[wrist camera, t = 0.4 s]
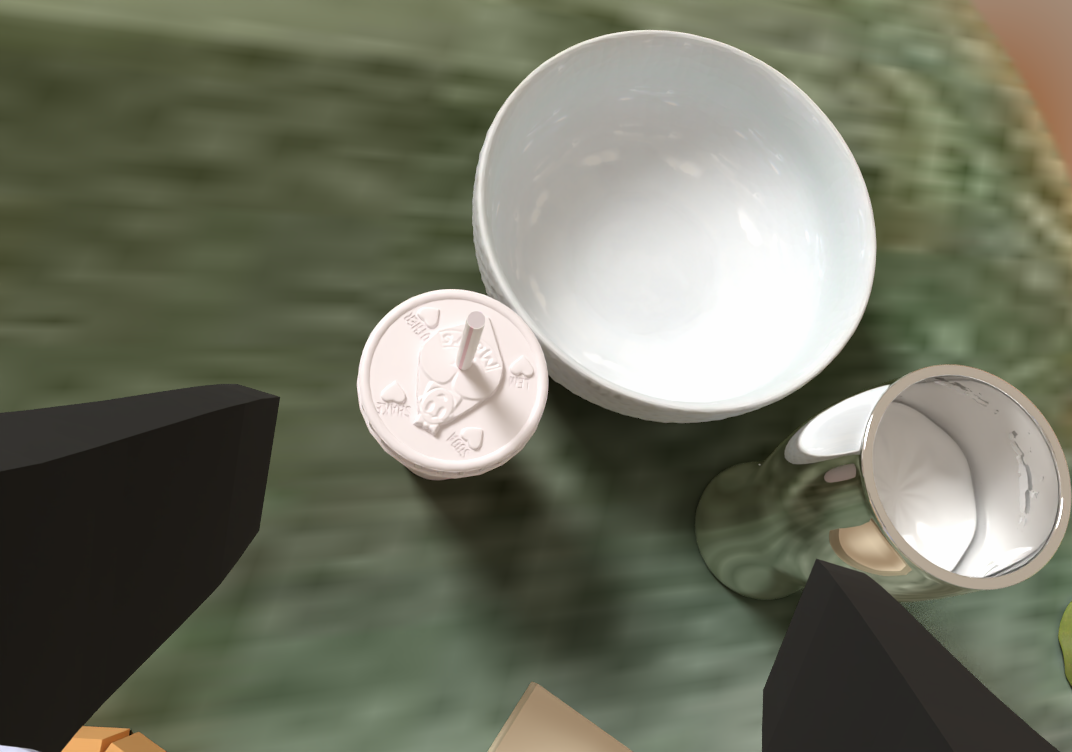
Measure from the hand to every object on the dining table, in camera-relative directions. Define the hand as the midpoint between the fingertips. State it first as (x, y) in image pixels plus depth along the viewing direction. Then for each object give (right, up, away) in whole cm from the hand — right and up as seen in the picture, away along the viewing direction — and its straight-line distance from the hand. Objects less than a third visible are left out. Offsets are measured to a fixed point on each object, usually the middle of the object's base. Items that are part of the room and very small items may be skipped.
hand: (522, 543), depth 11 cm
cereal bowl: (+5, +7, +31) cm, 32 cm away
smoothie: (-4, -1, +27) cm, 27 cm away
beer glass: (+10, -5, +28) cm, 31 cm away
